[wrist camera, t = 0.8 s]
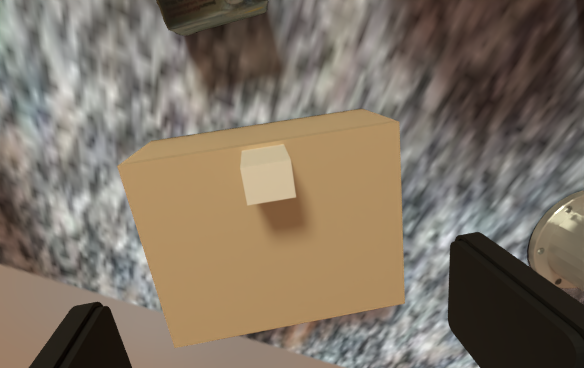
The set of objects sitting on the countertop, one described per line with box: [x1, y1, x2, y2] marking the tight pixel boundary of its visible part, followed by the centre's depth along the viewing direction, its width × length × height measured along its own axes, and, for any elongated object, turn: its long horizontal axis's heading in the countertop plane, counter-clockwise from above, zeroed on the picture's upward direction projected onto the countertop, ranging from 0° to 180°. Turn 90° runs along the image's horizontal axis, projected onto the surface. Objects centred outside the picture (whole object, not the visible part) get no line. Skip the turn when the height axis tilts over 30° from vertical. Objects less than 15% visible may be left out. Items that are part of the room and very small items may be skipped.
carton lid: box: [117, 121, 405, 348], centre depth 25 cm, size 20×16×5 cm
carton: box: [121, 109, 395, 164], centre depth 31 cm, size 20×16×8 cm
